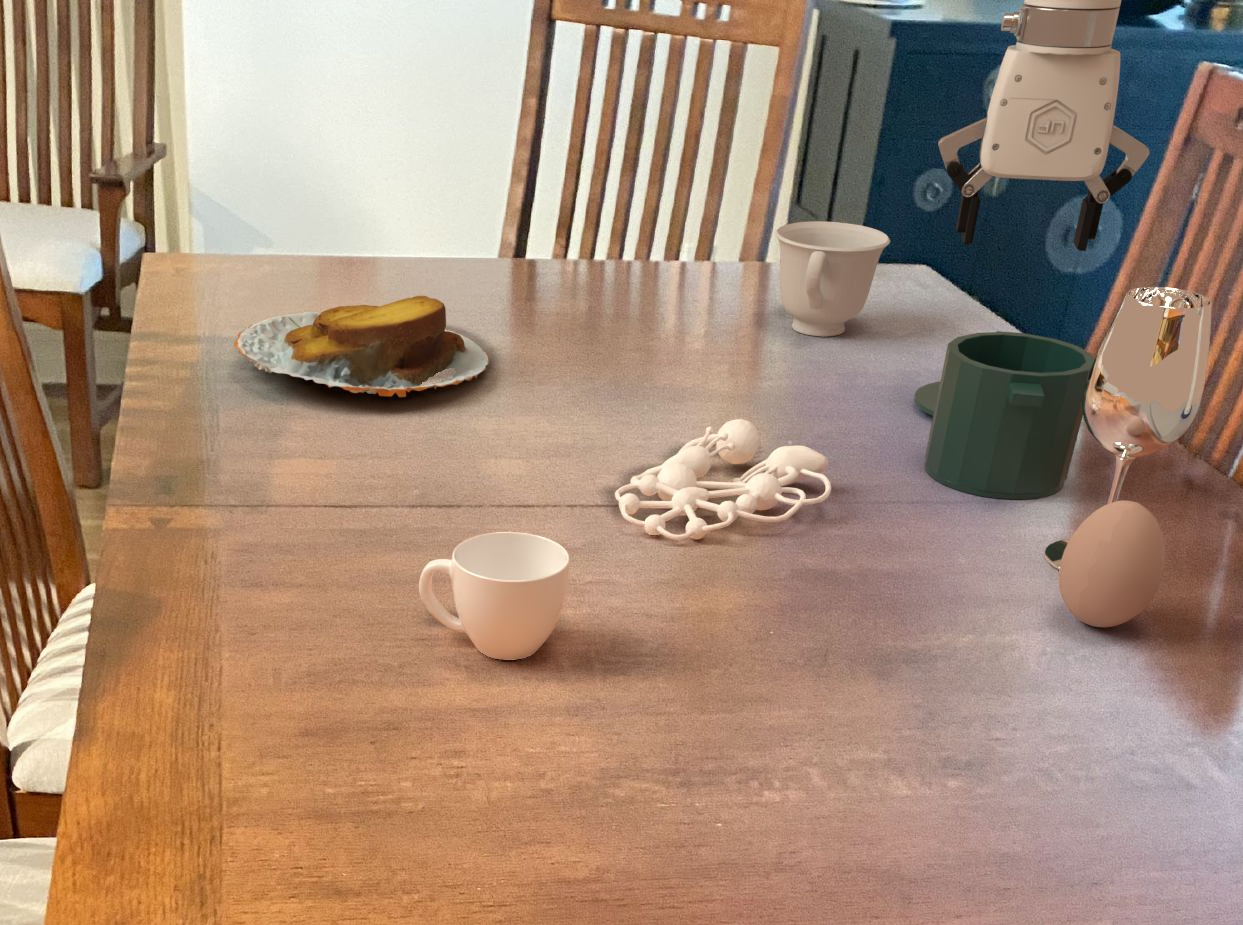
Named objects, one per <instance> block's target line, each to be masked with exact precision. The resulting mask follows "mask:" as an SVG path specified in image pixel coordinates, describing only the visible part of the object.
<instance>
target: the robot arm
mask: <svg viewBox="0 0 1243 925" xmlns="http://www.w3.org/2000/svg"><path fill="white" fill-rule="evenodd" d="M1121 3H1122V0H1024V2H1023V3H1022V5H1021V8H1019V9H1018V11H1013V13H1009V12H1008V13H1006V12H1005V13H1003V16H1002V20H1001V26H1000V31H1001V32H1009V34H1013V35H1014V37H1015V38H1016V42H1015V44H1014V45H1008V47H1007V49H1006V50H1005V54H1004V56H1003V58H1002V61H1001V63H1000V67H999V70H998V73H997V77H996V80H995V83H994V87H993V89H992V93H991V97H990V101H989V105H988V109H987V113H986V117H985V118H982V119H980V120H978V121H975V122H973V123H971V124H968V125H967V126H965V127H962V128H960V129H958V130H956V131H953V132H952V133H949V134H947V135H945V136H942V137H941V138H940V139H939V140H938V143H937V144H938V149H939V152H940V155H941V158H942V161H943V164H944V168H945V170H946V174H947V175H948V177H949V178H950V179H951V180H952V182H953V183H954V185H955V186H956V187H957V188H958V190H959V191H960V192H961V200H960V205H959V210H958V216H957V221H956V226H955V231H956V233H961V234H962V235H961V240H962V244H963V245H965V246H971V244H973V243H974V238H975V237H974V236H975V231H976V225H977V220H978V215H979V209H980V204H981V197H980V194H979V193H980V189H982V188H983V187H984V186H985V185H986V184H987V183H988V182H989V181H990V180H991V179H992V178H993V177H995V178H1004V179H1015V180H1016V179H1019V180H1036V181H1037V180H1038V181H1039V180H1040V181H1041V180H1042V181H1063V182H1084V184H1085V185H1086V187H1087V189H1088V191H1087V195H1085V197H1084V198H1082V200H1081V201H1082V202H1081V205H1080V210H1079V215H1078V219H1077V223H1076V228H1075V232H1074V237H1073V244H1074V246H1075V248H1076V249H1077V250H1078V252H1085V251H1086V250H1087V247H1088V243H1089V240H1095V239H1096V237H1097V233H1098V229H1099V225H1100V220H1101V216H1102V212H1103V207H1104V204H1105V203H1107V202H1108V201H1109V200H1110V198H1111V197H1112V196H1113V195H1115V194H1116V193H1118V192H1119V191H1121V189H1122V188H1124V187H1125V186H1126V185H1128V184H1129V183H1130V182H1131V180H1132V178H1133V177H1134V175H1135V174H1136V173H1137V172H1138V171H1139V169H1140V168H1141V167H1142V166H1143V164H1144V163H1145V162H1146V160H1147V159H1148V158H1149V156H1150V153H1151V152H1150V149H1149V147H1147V145H1145V144H1144V143H1142V142H1141V141H1139V140H1137V139H1136V138H1134V137H1133V136H1132V135H1130V134H1128V133H1127V132H1126V131H1124V130H1122V129H1121V128H1119V127H1118V126H1116V125H1114V119H1115V113H1116V107H1117V101H1118V94H1119V93H1118V92H1119V83H1120V75H1121V74H1120V72H1121V52H1120V50H1119V51H1118V50H1117V49H1114V48H1112V45H1113V41H1114V36H1115V32H1116V26H1117V22H1118V17H1119V14H1120V9H1121V5H1122V4H1121ZM980 139H981V140H980ZM978 140H980V146H979V155H978V156H979V157H978V158H979V161H980V162H979V163H978V164H977V165H976V166H975V167H974V168H972V169H971V171H969V172H968V171H967V170H966V169H965V167H964V166H963V165H962V163H961V162H960V159H959V155H958V151H959V150H960V149H961V148H963V147H965V146H967V145H969V144H972V143H973V142H976V141H978ZM1110 145H1111V146H1112V147H1114V148H1116V149H1117V150H1119V151H1120V152H1122V153H1124V154H1125V158H1124V160H1123V161H1122V163H1121V164H1120V166H1119V167H1117V168H1116V169H1115V170H1114V171H1112V172H1111V173H1110V174H1108V175H1107V176H1106V177H1105V178H1103V179H1102V177H1101V174H1102V172H1103V170H1104V168H1105V164H1106V161H1107V157H1108V153H1109V146H1110Z"/></svg>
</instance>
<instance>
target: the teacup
mask: <svg viewBox="0 0 1243 925" xmlns="http://www.w3.org/2000/svg"><path fill="white" fill-rule="evenodd" d="M774 236H775V237H776V240H778V244H779V259H780V260H779V263H780V265H779V296H780V302H781V305H782V307H783V309H784V310H785V311H786V312H787V314H789V315H790V316H792V317H793V321H792V323H791V328H792V330H793V331H794V332H797V333H799V334H803V335H807V336H813V337H820V338H821V337H835V336H836V337H837V336H840V335H842V334H843V333H844V332H845V331H846V326H845V324H846V322H847V321H850V320H852V319H854V318H855V317H856V316H858V315H859V314H860V313H861V311H862V310H863V309H864V306H865V305H866V302H867V299H868V297H869V293H870V291H871V287H872V285H873V284H872V283H873V280H874V277H875V273H876V270H877V266H878V263H879V261H880V257H881V255H882V253H883V251H884V249H885V248H887V246H889V244H890V243H891V239H890V238H889V236H888V235H887V234H886V233H884V232H883V231H881V230H878V229H875V228H874V227H873V228H872V227H869V226H866V225H865V226H864V225H860V224H853V223H847V222H838V221H819V220H817V221H815V220H814V221H799V222H793V223H788V224H785V225H782V226H780V227H778V228H777V229H776V230H775V231H774Z"/></svg>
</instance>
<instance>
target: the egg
mask: <svg viewBox="0 0 1243 925" xmlns="http://www.w3.org/2000/svg"><path fill="white" fill-rule="evenodd" d="M1106 504H1107V503H1106ZM1106 504H1105V505H1102V506H1101V507H1098V508H1097V509H1096V510H1094V511H1093V512H1092V513H1091V514H1090V515H1089V516H1087V517H1086V518H1085V519H1084V520H1083V521H1082V523H1080V525H1079V526H1078V527H1077V528H1076V530H1075V531H1074V533H1073V534H1072V535H1071V536H1070V538H1069V539H1070V540H1069V542H1068V544H1067V546H1066V548H1065V550H1064V553H1063V556H1062V559H1061V562H1060V569H1059V571H1058V586H1059V591H1060V595H1061V597H1062V600H1063V602H1064V604H1065V606H1066V607H1067V609H1068V610H1069V611H1070V613H1071V614H1072V615H1073V616H1074V617H1075V618H1077V620H1079V621H1080V622H1081V623H1083V624H1086V625H1089V626H1090V627H1094V628H1102V629H1103V628H1104V629H1105V628H1111V627H1117V626H1120V625H1122V624H1125V623H1127V622H1128V621H1130V620H1132V619H1133V618H1135V617H1136V616H1137V615H1139V614H1140V613H1141V612H1143V611H1144V610H1145V609H1146V608H1147V607H1148V606H1149V605H1150V603H1151V602H1152V601H1153V599H1154V598H1155V596H1156V594H1157V592H1158V590H1159V588H1160V585H1161V583H1162V582H1163V577H1164V572H1165V566H1166V559H1167V556H1166V546H1165V539H1164V534H1163V532H1162V529H1161V526H1160V523H1159V521H1158V520H1157V518H1156V516H1154V514H1153V513H1152V512H1151V511H1150V510H1149V509H1148V508H1147V507H1145V506H1144V505H1142V504H1141V503H1139V502H1137V501H1132V500H1118V501H1116V502H1113V503H1110V504H1107V505H1106Z"/></svg>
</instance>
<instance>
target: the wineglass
mask: <svg viewBox="0 0 1243 925" xmlns="http://www.w3.org/2000/svg"><path fill="white" fill-rule="evenodd" d="M1212 310H1213V301H1212V300H1211V299H1210V298H1209V297H1208V296H1205V295H1202V294H1201V293H1197V292H1194V291H1190V290H1186V289H1180V288H1174V287H1164V286H1142V287H1141V286H1140V287H1134V288H1131V289H1130V290H1128V291H1127V292H1126V295H1125V296H1124V298H1123V300H1122V302H1121V304H1120V306H1119V308H1118V310H1117V312H1116V314H1115V316H1114V318H1113V319H1112V321H1111V324H1110V326H1109V328H1108V330H1107V333H1106V334H1105V336H1104V338H1103V341H1102V343H1101V345H1100V347H1099V349H1098V351H1097V353H1096V356H1095V357H1094V359H1095V360H1094V363H1093V365H1092V368H1091V370H1090V373H1089V376H1088V379H1087V382H1086V385H1085V388H1084V393H1083V399H1082V409H1083V417H1082V419H1083V421H1084V423H1085V425H1086V428H1087V430H1088V432H1089V433H1090V434H1091V436H1092V437H1093V438H1094V439H1095V440H1096V442H1097V443H1098V444H1099V445H1100V446H1101V447H1102V448H1104V449H1105V450H1106V451H1107V452H1109V453H1111V454H1112V455H1114V472H1113V477H1112V482H1111V486H1110V490H1109V493H1108V496H1107V501H1106V504H1105V505H1107V504H1110V503H1113V502H1116V501H1119V498H1120V493H1121V491H1122V487H1123V485H1124V482H1125V479H1126V476H1127V474H1128V471H1129V469H1130V467H1131V465H1132V463H1133V462H1134V460H1136V458H1143V457H1146V456H1149V455H1153V454H1156V453H1158V452H1160V451H1162V450H1164V449H1166V448H1167V447H1170V446H1172V445H1173V444H1174V443H1175V442H1176V441H1178V440H1179V439H1180V438H1181V437H1182V436H1184V435H1185V434H1186V433H1187V431H1188V430H1189V429H1190V427H1191V426H1192V424H1193V423H1194V421H1195V420H1196V417H1197V414H1198V412H1199V409H1200V406H1201V403H1202V398H1203V395H1204V389H1205V385H1206V379H1207V374H1208V364H1209V363H1208V362H1209V353H1210V342H1211V330H1212V329H1211V328H1212V326H1211V325H1212ZM1069 540H1070V538H1067V539H1065V538H1064V539H1060V540H1057V541H1054V542H1052V543H1050V544H1047V546H1046V547H1045V548H1044V551H1043V556H1044V559H1045V560H1046V562H1048V563H1049V564H1050V565H1051V566H1052V567H1053V568H1054V569H1057V570H1059V569H1060V562H1061V559H1062V556H1063V553H1064V550H1065V548H1066V546H1067V544H1068V542H1069Z"/></svg>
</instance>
